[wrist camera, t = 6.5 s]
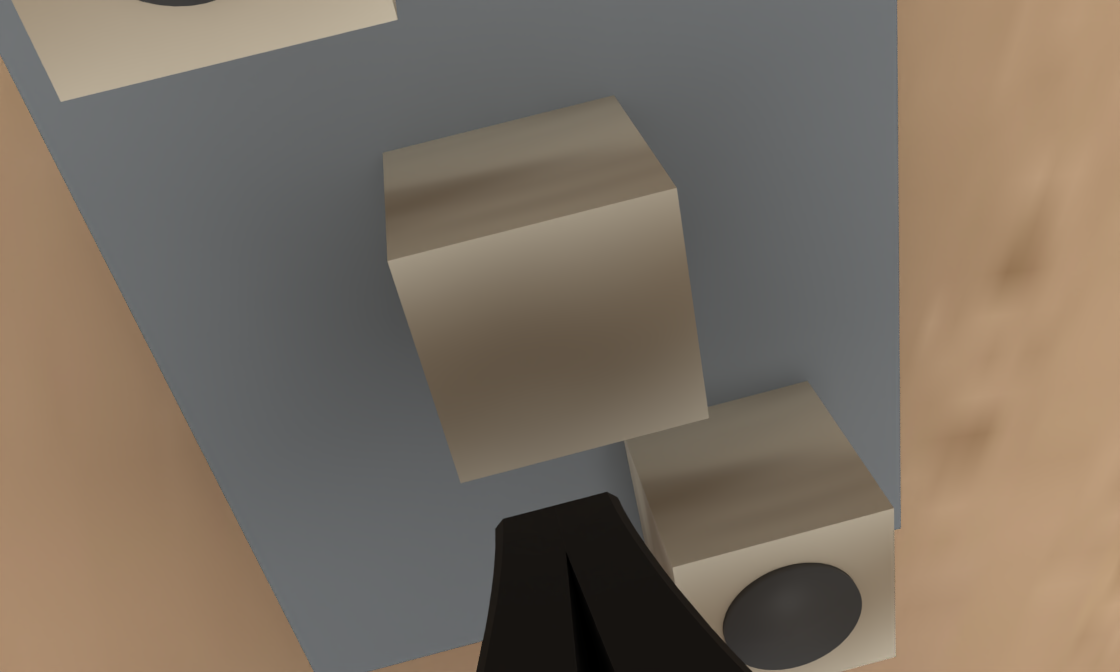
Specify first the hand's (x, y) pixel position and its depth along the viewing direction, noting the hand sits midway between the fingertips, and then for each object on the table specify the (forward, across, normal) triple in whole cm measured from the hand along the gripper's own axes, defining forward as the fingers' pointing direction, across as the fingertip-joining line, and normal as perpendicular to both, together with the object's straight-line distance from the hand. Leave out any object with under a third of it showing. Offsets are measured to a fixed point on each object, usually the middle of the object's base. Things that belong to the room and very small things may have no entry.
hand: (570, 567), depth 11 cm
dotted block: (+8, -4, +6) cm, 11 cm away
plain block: (+8, -1, -1) cm, 8 cm away
